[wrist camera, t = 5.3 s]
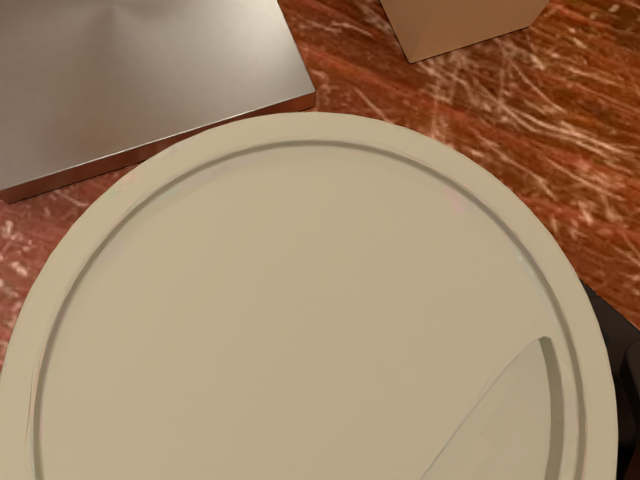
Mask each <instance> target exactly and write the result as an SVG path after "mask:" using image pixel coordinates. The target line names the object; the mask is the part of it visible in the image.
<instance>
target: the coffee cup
mask: <svg viewBox="0 0 640 480" xmlns="http://www.w3.org/2000/svg"><path fill="white" fill-rule="evenodd" d="M617 453H618V422H617V406H616V396H615V387H614V383H613V378H612V373H611V368H610V363H609V358H608V353H607V349H606V346H605V342H604V339H603V336H602V333H601V330H600V327H599V323H598V321H597V318H596V316H595V313H594V311H593V308H592V306H591V303H590V301H589V298H588V296H587V294H586V292H585V290H584V288H583V286H582V284H581V282H580V280H579V278H578V276H577V274H576V273H575V271H574V269H573V267H572V265H571V264H570V262H569V261H568V259H567V258H566V256H565V254H564V253H563V251H562V250H561V248H560V247H559V245H558V244H557V242H556V241H555V239H554V238H553V236H552V235H551V234H550V232H549V231H548V230H547V229H546V228H545V226H544V225H543V224H542V223H541V222H540V221H539V219H538V218H537V217H536V216H535V215H534V213H533V212H532V211H531V210H530V209H529V208H528V206H526V205H525V204H524V203H523V202H522V201H521V200H520V199H519V198H518V197H517V196H516V195H515V194H514V193H513V192H512V191H511V190H510V189H509V188H508V187H506V186H505V185H504V184H503V183H502V182H500V181H499V180H498V179H497V178H496V177H494V176H493V175H492V174H491V173H489V172H488V171H486V170H485V169H484V168H482V167H481V166H479V165H478V164H476V163H475V162H473V161H472V160H471V159H469V158H468V157H466V156H465V155H463V154H461V153H459V152H457V151H455V150H454V149H452V148H450V147H448V146H446V145H444V144H443V143H441V142H439V141H437V140H434V139H432V138H430V137H427V136H425V135H422V134H420V133H418V132H415V131H413V130H410V129H408V128H405V127H402V126H398V125H395V124H391V123H388V122H384V121H381V120H377V119H372V118H367V117H362V116H356V115H350V114H339V113H327V112H293V113H278V114H271V115H264V116H257V117H252V118H247V119H243V120H238V121H234V122H231V123H228V124H224V125H221V126H218V127H214V128H211V129H208V130H206V131H204V132H201V133H199V134H197V135H194V136H192V137H189V138H187V139H185V140H182V141H180V142H178V143H175V144H174V145H172V146H170V147H168V148H167V149H165V150H163V151H161V152H160V153H158V154H156V155H154V156H153V157H151V158H149V159H147V160H146V161H145V162H143V163H142V164H140V165H139V166H137V167H136V168H135V169H133V170H132V171H130V172H129V173H127V174H126V175H125V176H123V177H122V178H121V179H119V180H118V181H117V182H116V183H115V184H114V185H113V186H112V187H110V188H109V189H108V190H107V191H106V192H105V193H104V194H103V195H101V196H100V197H99V198H98V199H97V200H96V201H95V202H94V203H92V205H91V206H90V207H89V208H88V209H87V210H86V211H85V212H84V213H83V214H82V216H81V217H80V218H79V219H78V220H77V221H76V222H75V223H74V224H73V225H72V227H71V228H70V229H69V231H68V232H67V233H66V235H65V236H64V237H63V239H62V240H61V241H60V243H59V244H58V245H57V247H56V248H55V249H54V251H53V252H52V253H51V255H50V257H49V258H48V260H47V262H46V263H45V265H44V267H43V269H42V270H41V272H40V274H39V275H38V277H37V279H36V281H35V282H34V284H33V286H32V288H31V289H30V291H29V294H28V296H27V298H26V300H25V303H24V305H23V307H22V309H21V312H20V314H19V316H18V319H17V321H16V324H15V327H14V330H13V333H12V336H11V338H10V341H9V344H8V347H7V351H6V355H5V359H4V363H3V367H2V371H1V375H0V480H616V470H617Z"/></svg>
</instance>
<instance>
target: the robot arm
mask: <svg viewBox="0 0 640 480" xmlns="http://www.w3.org/2000/svg"><path fill="white" fill-rule="evenodd" d="M579 280H580V282H581V284H582V286H583V288H584V290H585V292H586V294H587V296H588V298H589V301H590V303H591V306H592V308H593V311H594V313H595V316H596V318H597V321H598V323H599V327H600V330H601V333H602V336H603V339H604V342H605V346H606V349H607V353H608V358H609V363H610V368H611V373H612V378H613V383H614V387H615V396H616V406H617V422H618V453H617V470H616V480H640V331H639V330H638V329H637V328H636V327H635V326H634V325H633V324H631V323H630V322H629V321H628V320H627V319H626V318H624V317H623V316H622V315H621V314H620V313H619V312H618V311H616V310H615V309H614V308H613V307H612V306H611V305H609V304H608V303H607V302H606V301H605V300H604V299H603V298H601V297H600V296H597V295H596V292H595V291H593V290H592V289H591V288H590V287H589V286H588V285H584V283H583V281H582V280H581V279H580V278H579Z"/></svg>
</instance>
